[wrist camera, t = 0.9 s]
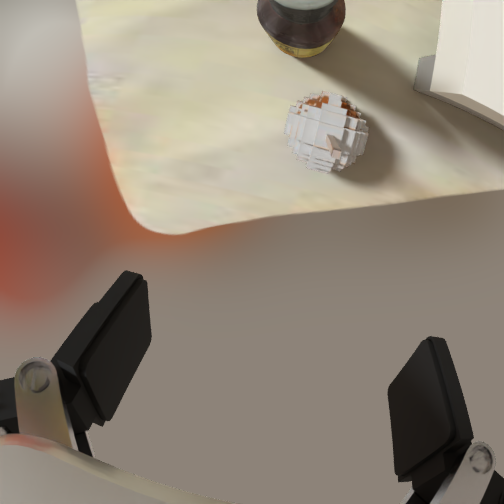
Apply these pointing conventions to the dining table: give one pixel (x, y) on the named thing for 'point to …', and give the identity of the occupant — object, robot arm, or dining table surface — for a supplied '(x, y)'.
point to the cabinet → (468, 59)
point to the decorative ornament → (326, 132)
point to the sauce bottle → (301, 24)
